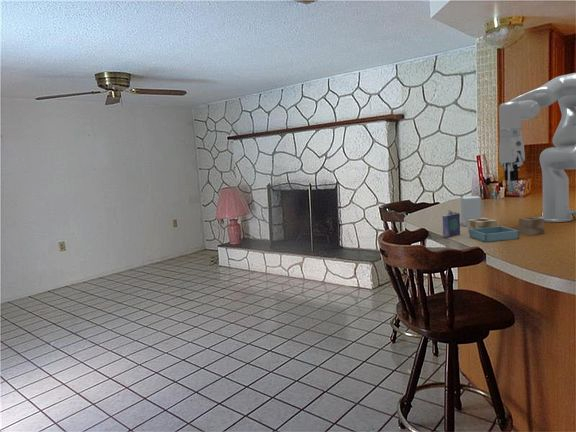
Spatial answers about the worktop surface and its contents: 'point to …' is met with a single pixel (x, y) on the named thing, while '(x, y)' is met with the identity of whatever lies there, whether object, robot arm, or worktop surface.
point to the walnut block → (531, 226)
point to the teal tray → (494, 234)
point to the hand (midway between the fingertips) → (511, 180)
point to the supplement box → (470, 208)
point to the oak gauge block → (481, 223)
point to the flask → (451, 224)
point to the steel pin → (510, 183)
